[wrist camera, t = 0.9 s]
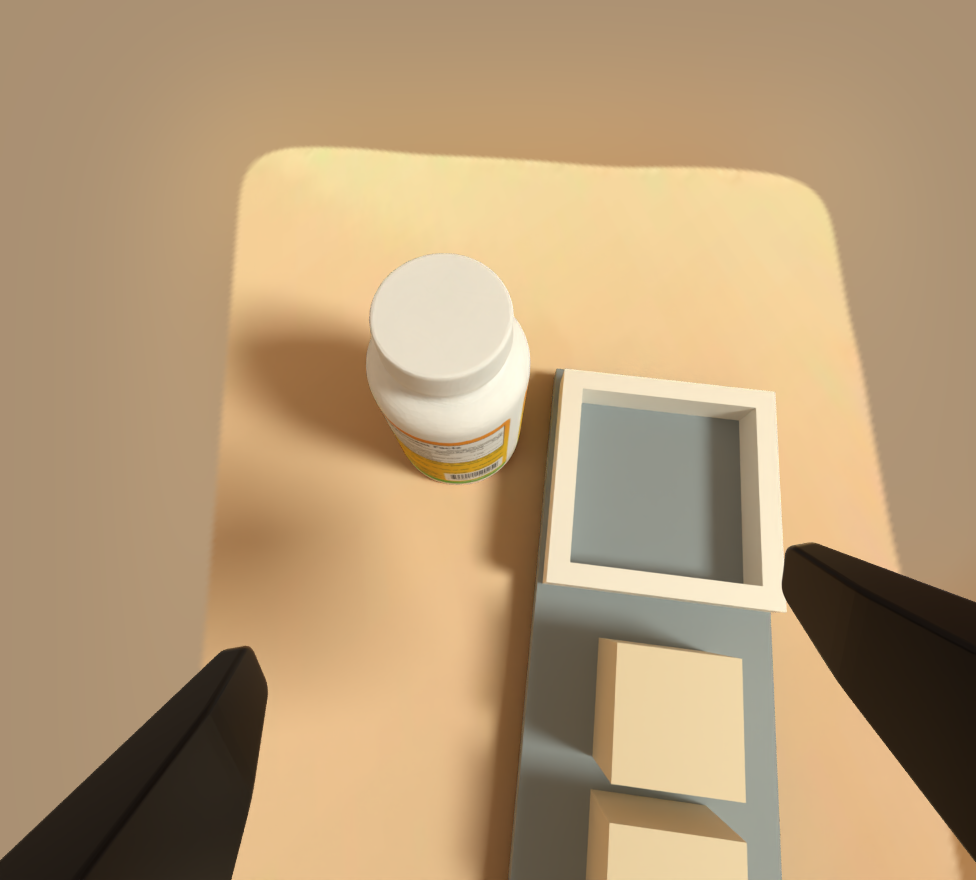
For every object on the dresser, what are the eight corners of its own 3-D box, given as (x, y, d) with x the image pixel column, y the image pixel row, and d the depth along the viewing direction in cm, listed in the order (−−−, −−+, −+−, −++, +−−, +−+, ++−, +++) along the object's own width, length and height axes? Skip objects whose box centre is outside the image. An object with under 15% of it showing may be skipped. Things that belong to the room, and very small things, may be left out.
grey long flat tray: (771, 1017, 17) (853, 1135, 13) (499, 974, 17) (502, 1077, 14) (750, 400, 24) (800, 360, 20) (554, 377, 24) (566, 334, 20)
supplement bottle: (443, 354, 24) (415, 201, 15) (541, 411, 24) (576, 285, 14) (376, 446, 23) (300, 339, 14) (477, 511, 22) (470, 441, 13)
